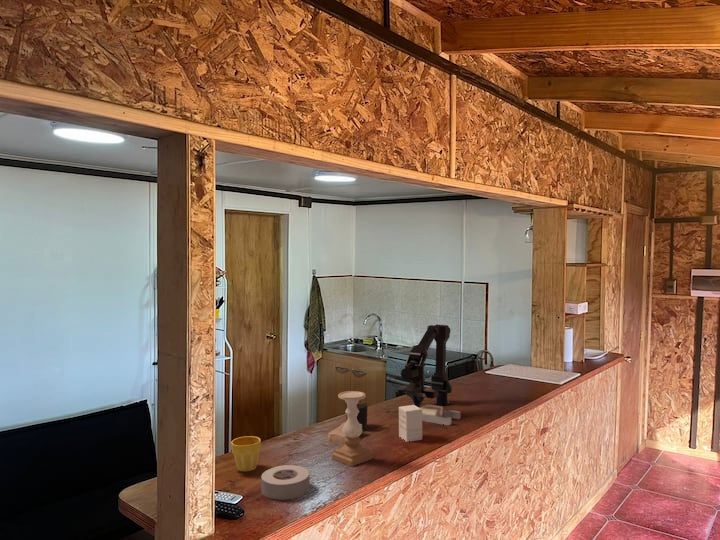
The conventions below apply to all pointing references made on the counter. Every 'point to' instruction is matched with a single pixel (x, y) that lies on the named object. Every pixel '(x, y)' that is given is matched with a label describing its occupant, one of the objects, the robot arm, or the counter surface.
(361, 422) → the pen holder
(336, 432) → the brick
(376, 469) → the counter surface
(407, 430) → the supplement box
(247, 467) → the plant pot
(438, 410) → the block
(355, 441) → the candle holder
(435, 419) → the chute
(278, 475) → the tape roll
